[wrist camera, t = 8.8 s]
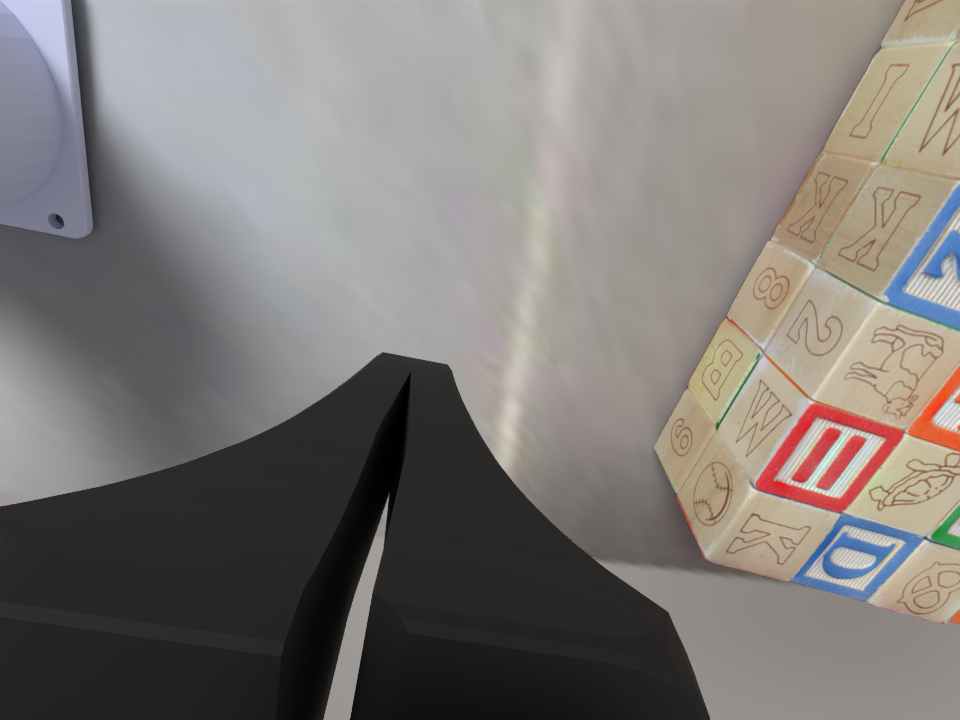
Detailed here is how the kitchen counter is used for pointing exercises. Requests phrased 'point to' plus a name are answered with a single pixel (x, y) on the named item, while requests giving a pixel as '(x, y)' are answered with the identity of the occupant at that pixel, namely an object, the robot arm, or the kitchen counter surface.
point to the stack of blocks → (846, 356)
